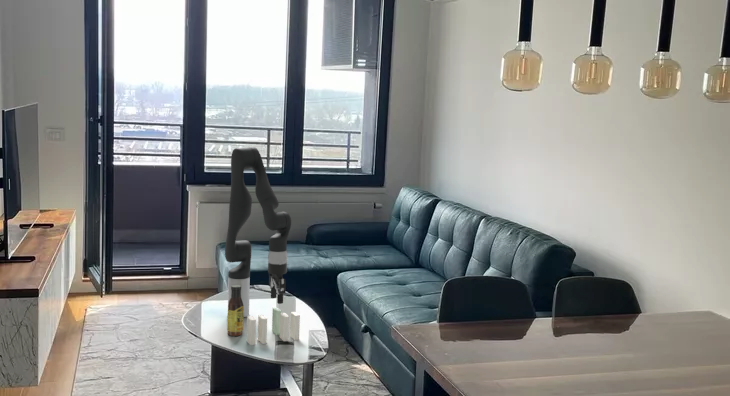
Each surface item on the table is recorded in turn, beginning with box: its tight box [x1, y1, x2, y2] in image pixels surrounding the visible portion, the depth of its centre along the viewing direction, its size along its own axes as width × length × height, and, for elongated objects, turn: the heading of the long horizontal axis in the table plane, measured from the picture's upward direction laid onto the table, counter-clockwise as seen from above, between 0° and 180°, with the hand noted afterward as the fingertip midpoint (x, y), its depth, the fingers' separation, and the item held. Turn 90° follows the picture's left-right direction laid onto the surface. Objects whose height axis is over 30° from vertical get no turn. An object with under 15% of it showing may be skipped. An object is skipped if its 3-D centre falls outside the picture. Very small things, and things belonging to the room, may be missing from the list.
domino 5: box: [289, 311, 301, 341], centre depth 277 cm, size 5×2×10 cm, turn 26°
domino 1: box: [246, 315, 257, 346], centre depth 269 cm, size 5×2×10 cm, turn 26°
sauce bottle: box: [226, 285, 244, 337], centre depth 277 cm, size 7×6×20 cm
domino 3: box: [271, 307, 282, 336], centre depth 281 cm, size 5×2×10 cm, turn 26°
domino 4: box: [279, 312, 290, 342], centre depth 275 cm, size 5×2×10 cm, turn 26°
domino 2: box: [257, 314, 268, 345], centre depth 271 cm, size 5×2×10 cm, turn 26°
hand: (276, 300), depth 280 cm, fingers open, 8 cm apart
